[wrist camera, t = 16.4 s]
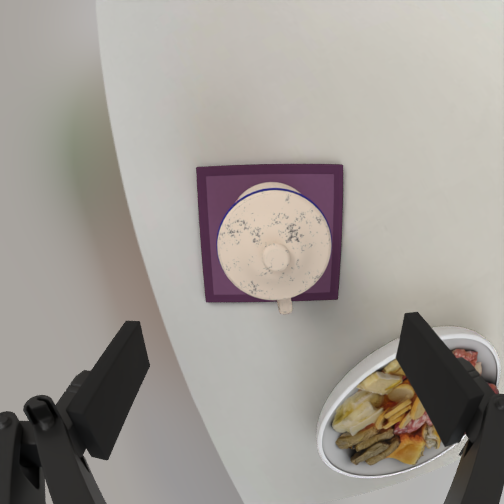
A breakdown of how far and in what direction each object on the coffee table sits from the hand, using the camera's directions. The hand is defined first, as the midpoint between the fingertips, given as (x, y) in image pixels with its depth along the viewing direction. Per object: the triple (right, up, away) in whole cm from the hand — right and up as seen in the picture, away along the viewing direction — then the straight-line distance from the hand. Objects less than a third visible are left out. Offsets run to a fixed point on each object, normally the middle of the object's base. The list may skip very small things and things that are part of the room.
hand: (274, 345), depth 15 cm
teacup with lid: (+1, +6, +19) cm, 20 cm away
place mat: (+1, +6, +19) cm, 20 cm away
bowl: (+23, -18, +26) cm, 39 cm away
